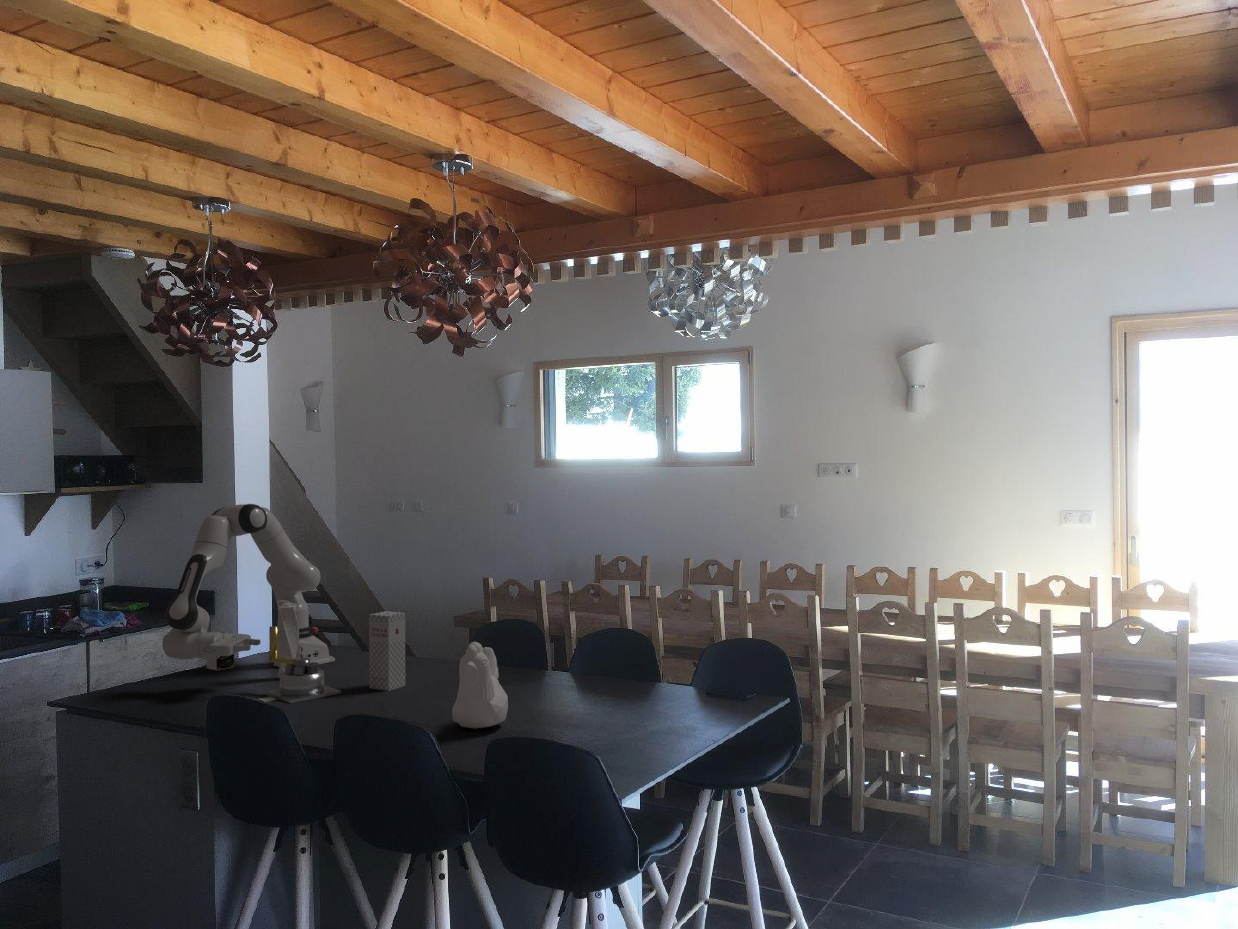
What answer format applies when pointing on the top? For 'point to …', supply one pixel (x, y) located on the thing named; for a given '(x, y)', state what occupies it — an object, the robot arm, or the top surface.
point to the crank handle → (293, 664)
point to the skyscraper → (288, 633)
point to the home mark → (267, 699)
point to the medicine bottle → (221, 663)
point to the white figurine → (479, 690)
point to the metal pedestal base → (301, 687)
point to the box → (386, 650)
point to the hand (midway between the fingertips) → (254, 645)
